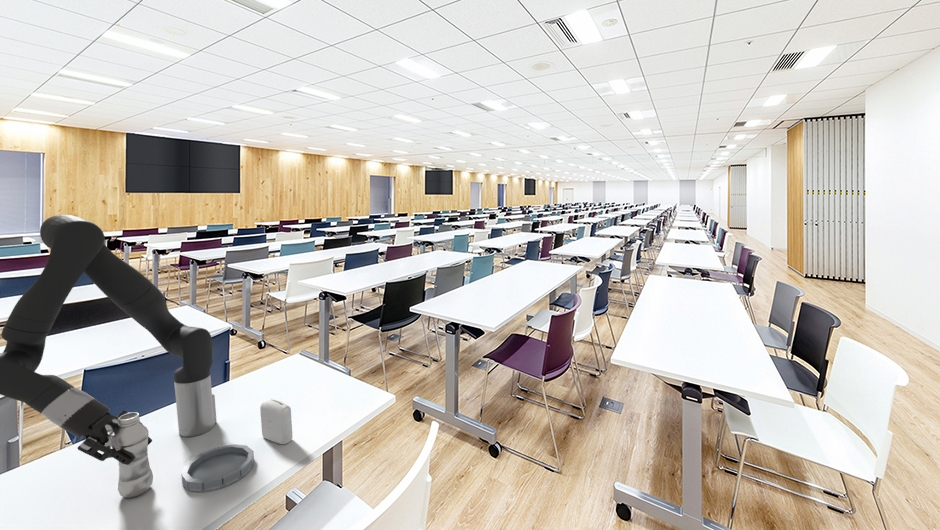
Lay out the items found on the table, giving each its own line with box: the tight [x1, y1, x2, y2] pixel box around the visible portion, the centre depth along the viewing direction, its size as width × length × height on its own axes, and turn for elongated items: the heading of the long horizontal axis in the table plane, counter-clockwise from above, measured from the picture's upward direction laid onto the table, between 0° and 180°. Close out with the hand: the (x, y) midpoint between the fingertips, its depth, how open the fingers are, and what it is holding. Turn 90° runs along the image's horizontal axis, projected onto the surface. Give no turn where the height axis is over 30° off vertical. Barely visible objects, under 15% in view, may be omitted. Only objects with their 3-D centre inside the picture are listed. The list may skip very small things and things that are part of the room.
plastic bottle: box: [115, 411, 154, 499], centre depth 94 cm, size 6×7×20 cm
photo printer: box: [259, 398, 293, 445], centre depth 118 cm, size 10×4×12 cm, turn 64°
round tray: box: [180, 443, 255, 493], centre depth 103 cm, size 16×16×2 cm
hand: (140, 452), depth 94 cm, fingers closed on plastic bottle, 6 cm apart
